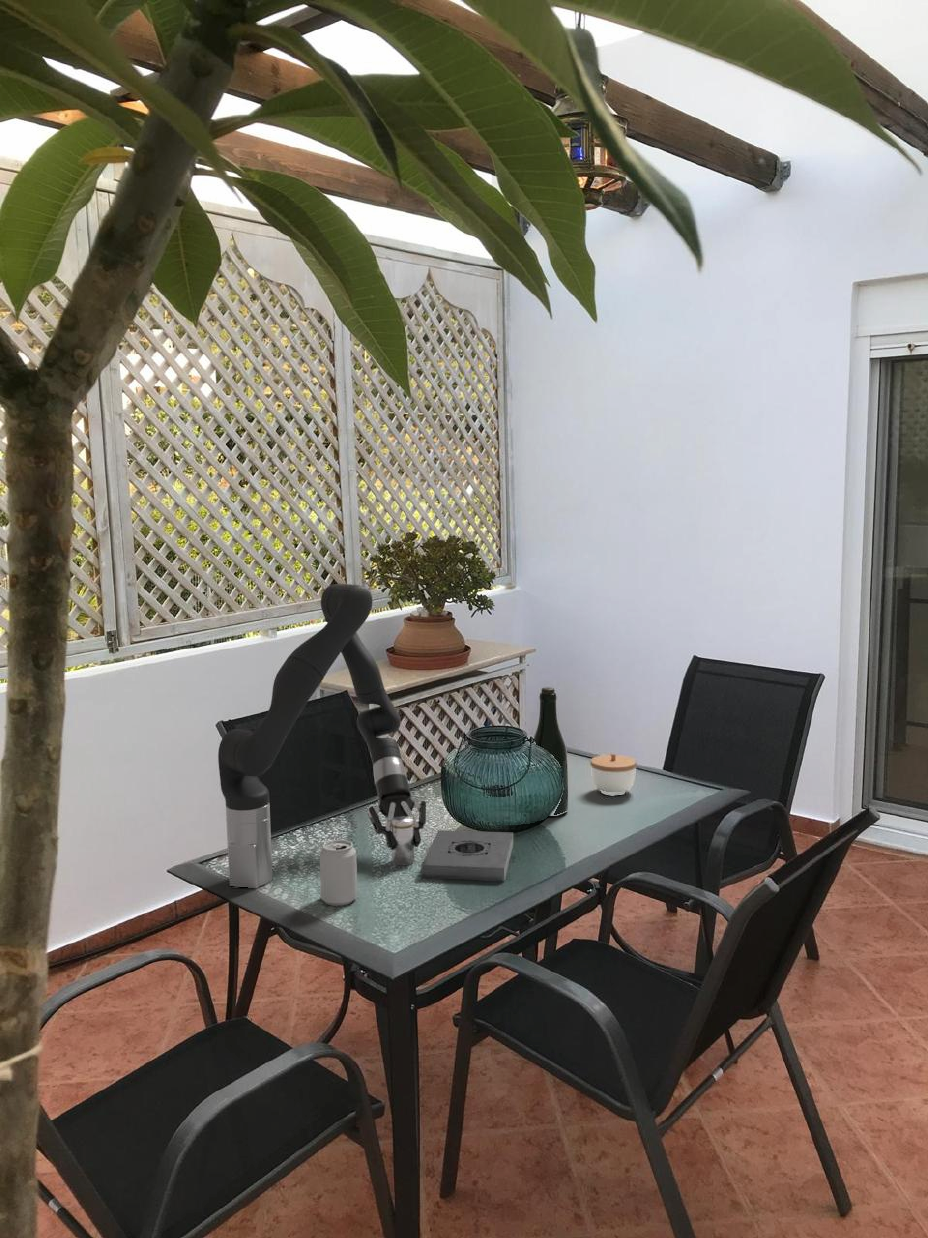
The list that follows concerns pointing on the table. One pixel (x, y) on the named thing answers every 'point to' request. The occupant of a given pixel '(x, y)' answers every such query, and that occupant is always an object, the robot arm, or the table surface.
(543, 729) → the dark wine bottle
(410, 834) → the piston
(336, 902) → the can
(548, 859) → the table surface
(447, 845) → the plate
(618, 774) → the lidded bowl
